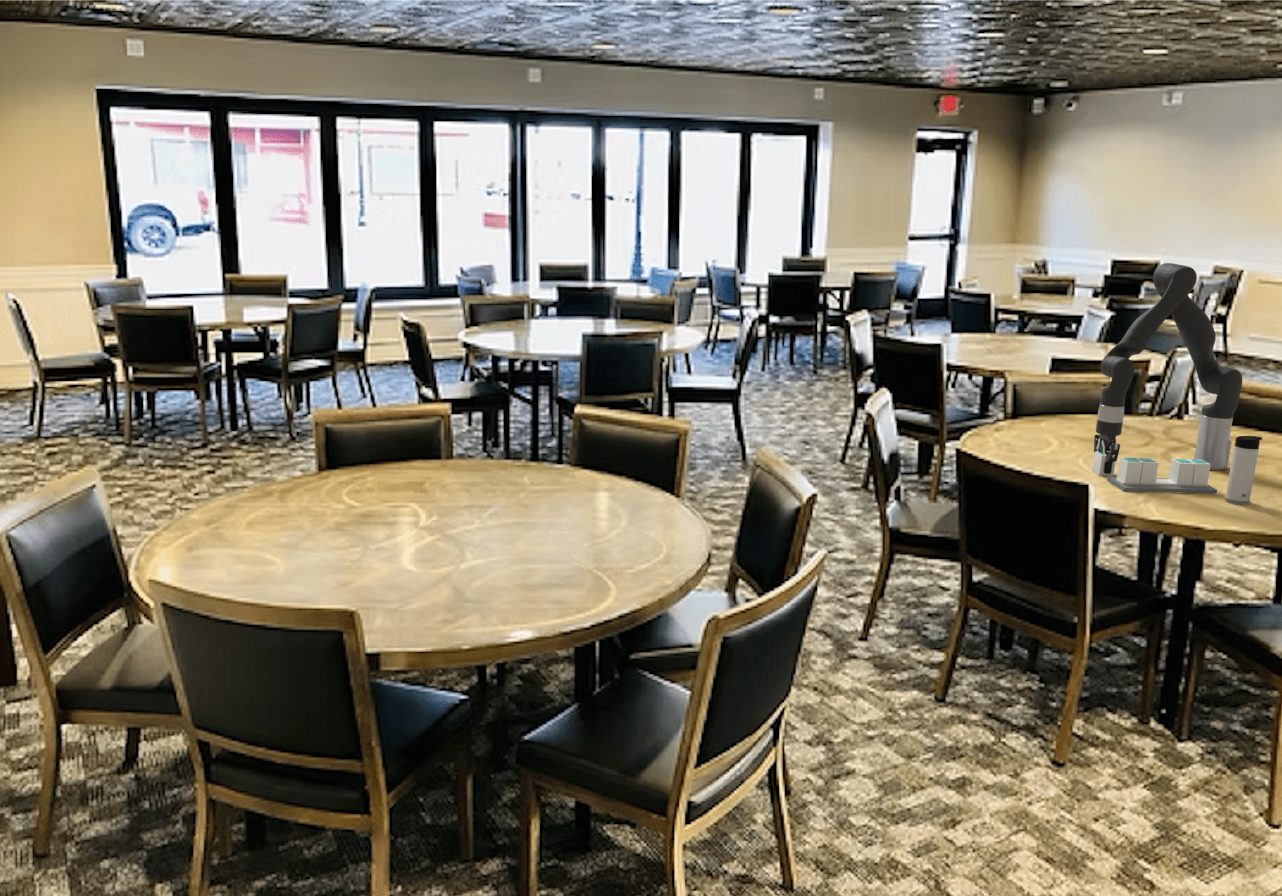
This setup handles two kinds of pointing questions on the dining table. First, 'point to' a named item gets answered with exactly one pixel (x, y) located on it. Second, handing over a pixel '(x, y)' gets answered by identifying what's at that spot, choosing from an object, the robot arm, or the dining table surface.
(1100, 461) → the block
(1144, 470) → the rail panel
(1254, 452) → the travel mug
